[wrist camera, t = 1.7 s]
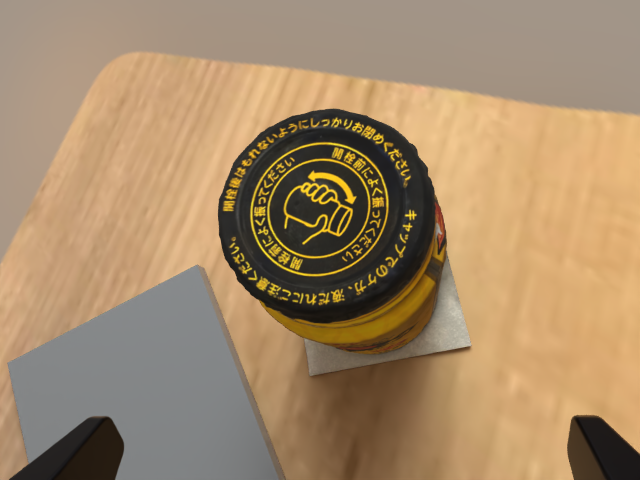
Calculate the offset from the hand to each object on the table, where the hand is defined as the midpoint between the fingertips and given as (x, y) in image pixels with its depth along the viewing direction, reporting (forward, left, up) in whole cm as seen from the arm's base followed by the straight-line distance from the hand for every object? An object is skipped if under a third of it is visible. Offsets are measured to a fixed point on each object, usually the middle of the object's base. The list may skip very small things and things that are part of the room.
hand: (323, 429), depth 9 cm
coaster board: (+1, +11, -12) cm, 17 cm away
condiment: (+6, -1, -12) cm, 14 cm away
